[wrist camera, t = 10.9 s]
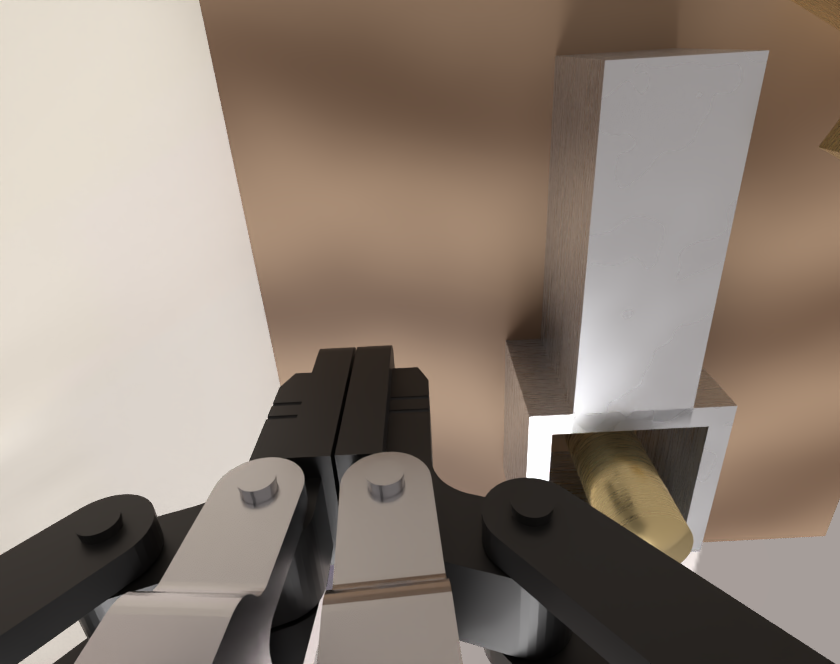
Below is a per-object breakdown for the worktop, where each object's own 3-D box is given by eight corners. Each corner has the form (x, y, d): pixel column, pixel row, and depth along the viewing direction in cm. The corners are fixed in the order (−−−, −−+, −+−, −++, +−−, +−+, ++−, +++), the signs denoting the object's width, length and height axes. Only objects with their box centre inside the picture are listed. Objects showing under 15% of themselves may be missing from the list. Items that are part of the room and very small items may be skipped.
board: (208, -32, 14) (190, -38, 13) (1022, -89, 13) (1075, -100, 12) (322, 538, 23) (317, 562, 22) (805, 512, 23) (825, 535, 22)
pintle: (554, 379, 18) (613, 519, 13) (615, 376, 18) (700, 514, 13) (551, 428, 19) (605, 577, 14) (610, 425, 19) (686, 573, 14)
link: (511, 58, 14) (545, 64, 10) (721, 45, 14) (829, 46, 10) (503, 467, 20) (523, 559, 16) (648, 460, 20) (700, 551, 16)
